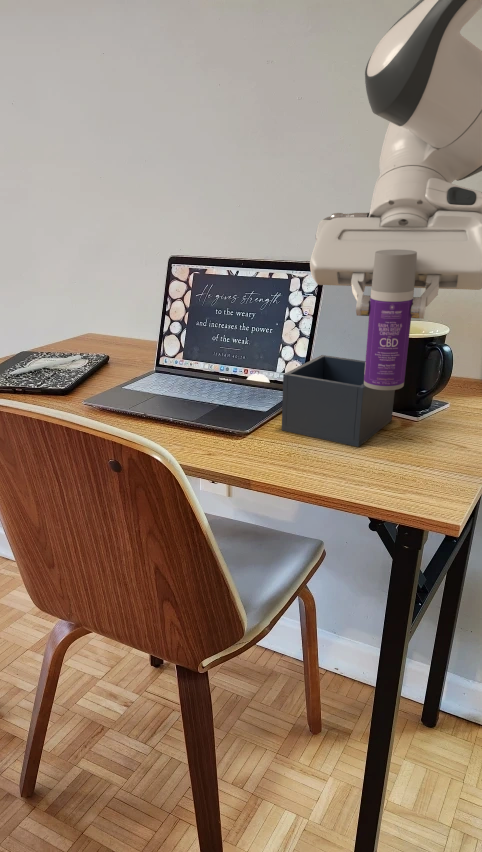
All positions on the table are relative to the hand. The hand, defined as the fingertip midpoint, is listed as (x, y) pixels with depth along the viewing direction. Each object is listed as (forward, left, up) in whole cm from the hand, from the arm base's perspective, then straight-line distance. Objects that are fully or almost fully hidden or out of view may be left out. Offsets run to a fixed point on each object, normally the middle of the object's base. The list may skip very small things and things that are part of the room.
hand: (389, 314), depth 78 cm
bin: (+13, -17, -21) cm, 30 cm away
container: (0, -1, -9) cm, 9 cm away
